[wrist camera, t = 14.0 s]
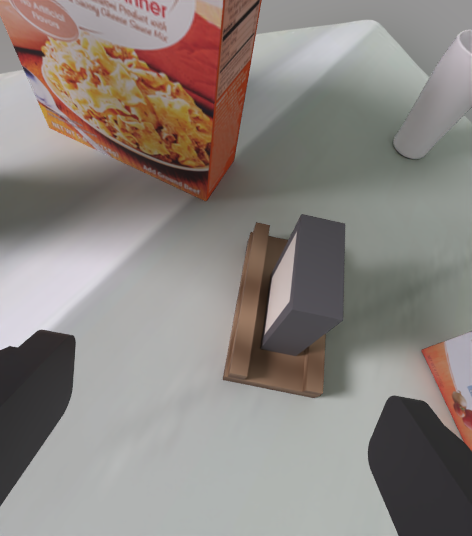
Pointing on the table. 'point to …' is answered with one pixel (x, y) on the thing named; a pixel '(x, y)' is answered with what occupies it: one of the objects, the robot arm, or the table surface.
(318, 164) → the table surface
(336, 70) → the table surface
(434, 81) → the drinking glass
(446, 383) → the cracker box
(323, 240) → the dark grey block
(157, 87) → the pasta box
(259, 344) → the wooden channel tray
